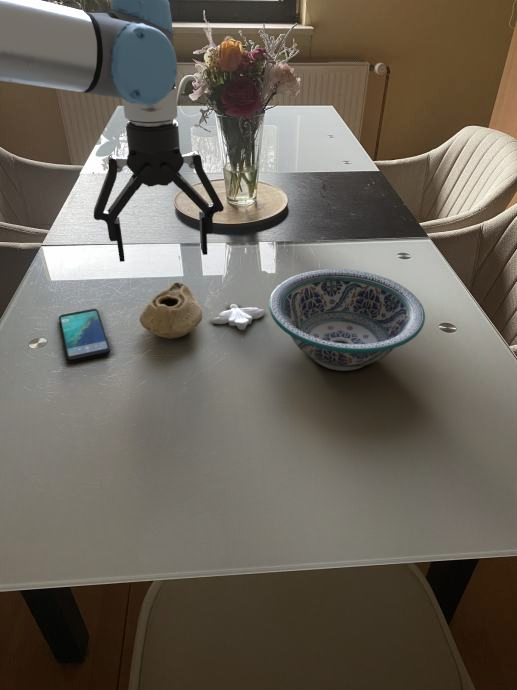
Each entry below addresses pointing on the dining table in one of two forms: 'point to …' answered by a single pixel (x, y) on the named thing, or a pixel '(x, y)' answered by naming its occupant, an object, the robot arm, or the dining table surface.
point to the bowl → (346, 316)
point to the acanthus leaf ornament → (238, 316)
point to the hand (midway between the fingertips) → (163, 254)
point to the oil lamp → (172, 312)
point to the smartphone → (83, 335)
